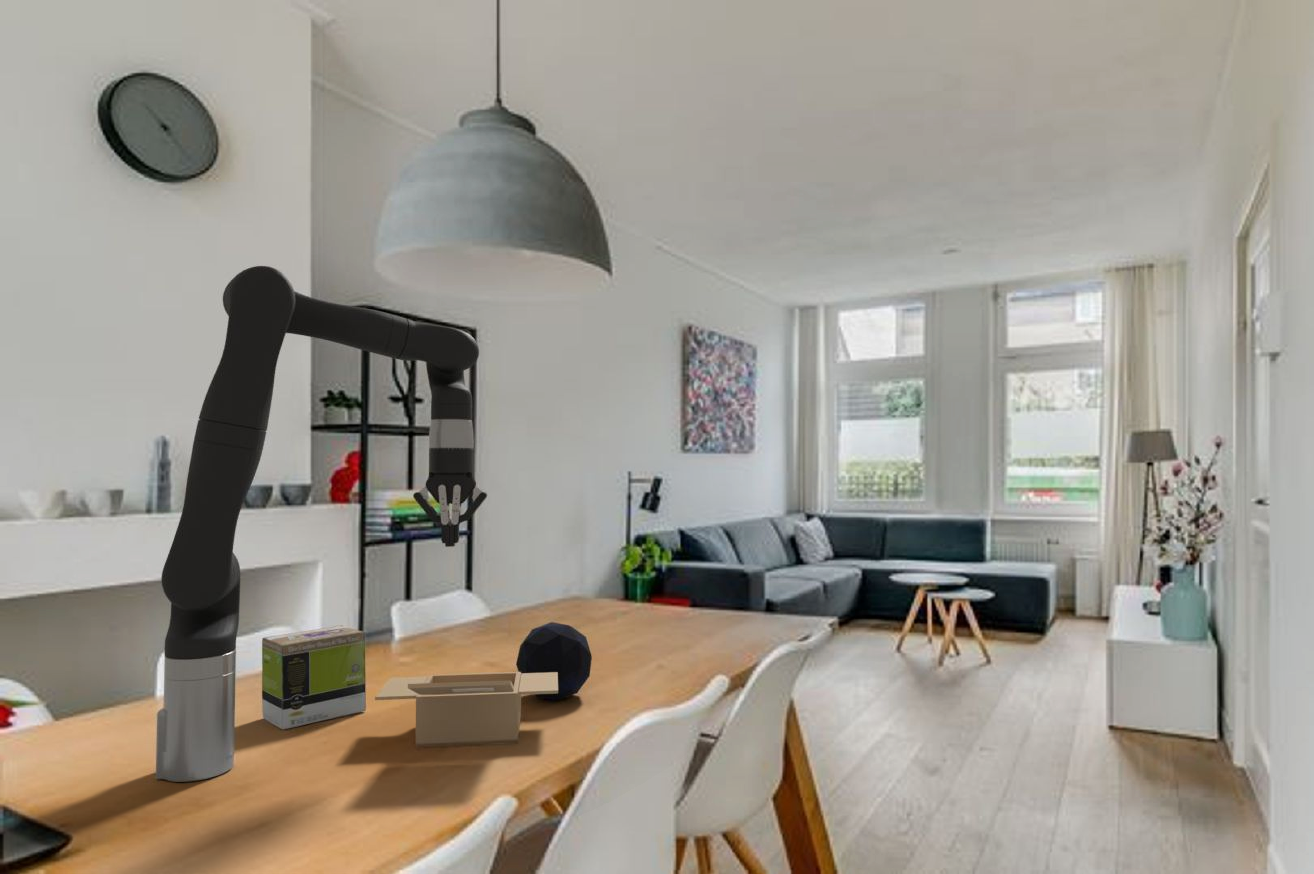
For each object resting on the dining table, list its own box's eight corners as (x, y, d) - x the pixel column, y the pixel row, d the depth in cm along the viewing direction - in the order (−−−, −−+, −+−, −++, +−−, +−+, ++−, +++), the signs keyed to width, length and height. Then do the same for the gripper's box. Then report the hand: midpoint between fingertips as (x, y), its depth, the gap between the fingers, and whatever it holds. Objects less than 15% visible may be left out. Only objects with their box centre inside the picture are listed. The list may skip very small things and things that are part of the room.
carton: (373, 749, 128) (373, 698, 129) (391, 721, 143) (391, 675, 143) (558, 741, 132) (558, 691, 132) (557, 714, 147) (557, 669, 147)
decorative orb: (507, 660, 165) (515, 608, 157) (578, 654, 170) (590, 604, 162) (516, 720, 154) (526, 667, 146) (593, 711, 159) (606, 660, 151)
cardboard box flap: (419, 695, 130) (407, 689, 119) (420, 690, 130) (407, 683, 119) (513, 692, 132) (510, 685, 120) (514, 687, 132) (510, 680, 121)
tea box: (343, 701, 155) (344, 623, 156) (366, 712, 148) (367, 631, 149) (260, 718, 145) (261, 634, 145) (280, 731, 138) (282, 643, 138)
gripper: (408, 445, 137) (407, 548, 136) (488, 445, 139) (487, 547, 138) (415, 446, 145) (414, 544, 144) (491, 447, 146) (490, 543, 146)
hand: (450, 546), depth 141 cm, fingers closed
